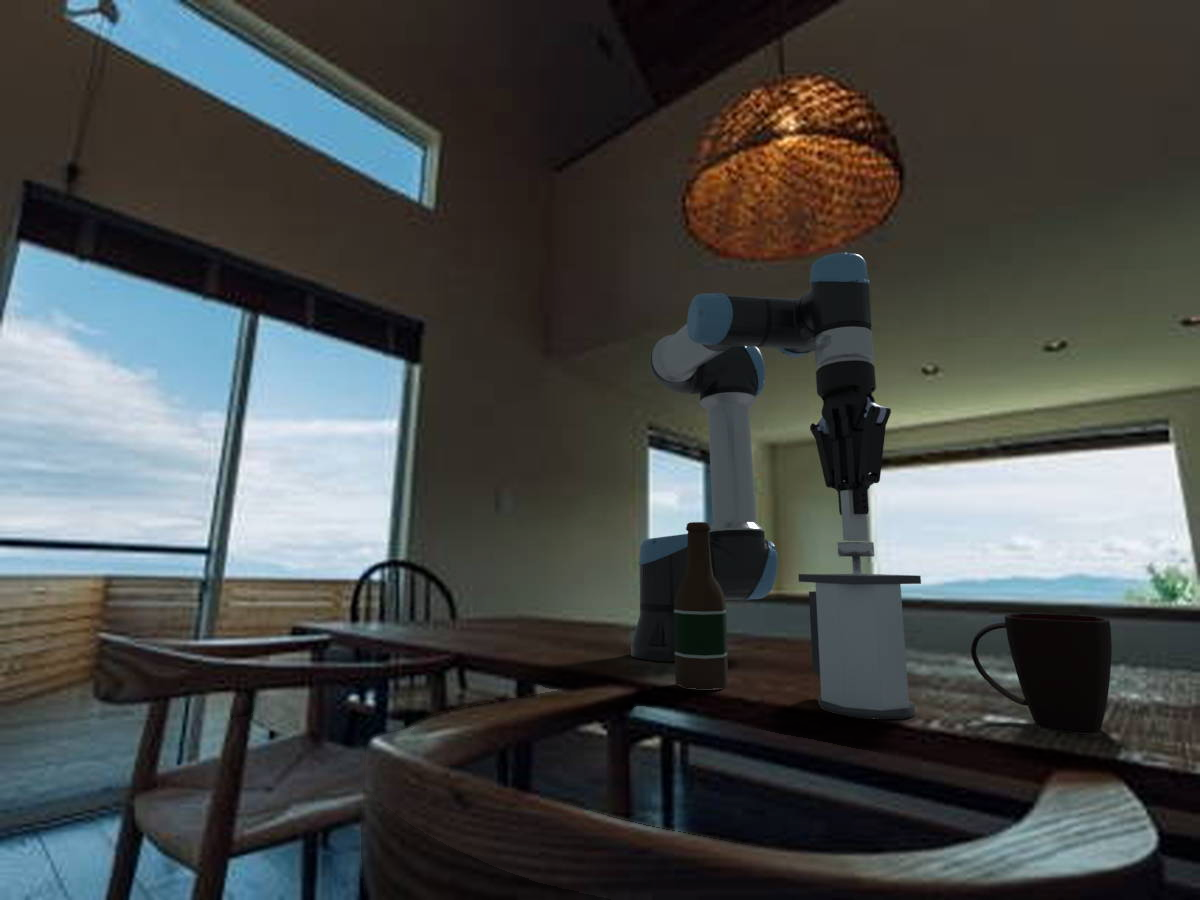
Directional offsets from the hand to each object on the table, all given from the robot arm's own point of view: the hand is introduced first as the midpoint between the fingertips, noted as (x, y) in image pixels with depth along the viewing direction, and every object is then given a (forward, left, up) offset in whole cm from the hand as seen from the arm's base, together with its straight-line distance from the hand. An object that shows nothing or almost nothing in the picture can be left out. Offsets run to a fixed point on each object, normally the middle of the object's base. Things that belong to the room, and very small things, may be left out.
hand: (855, 540), depth 84 cm
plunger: (0, 0, -9) cm, 9 cm away
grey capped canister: (-2, 0, -21) cm, 21 cm away
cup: (+13, +14, -21) cm, 28 cm away
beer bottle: (-20, -12, -21) cm, 32 cm away
